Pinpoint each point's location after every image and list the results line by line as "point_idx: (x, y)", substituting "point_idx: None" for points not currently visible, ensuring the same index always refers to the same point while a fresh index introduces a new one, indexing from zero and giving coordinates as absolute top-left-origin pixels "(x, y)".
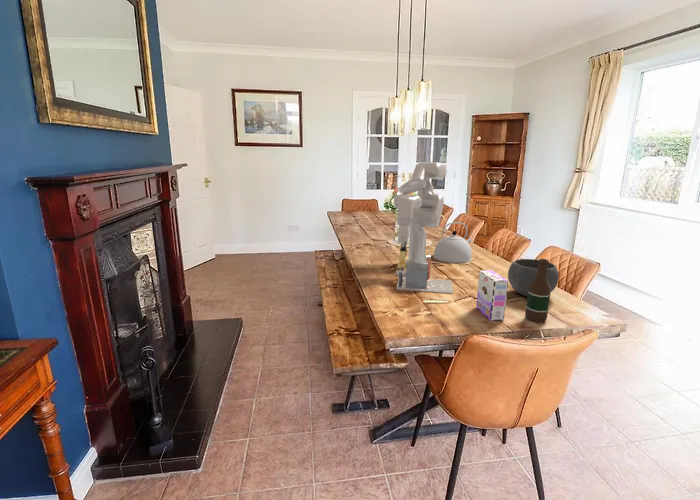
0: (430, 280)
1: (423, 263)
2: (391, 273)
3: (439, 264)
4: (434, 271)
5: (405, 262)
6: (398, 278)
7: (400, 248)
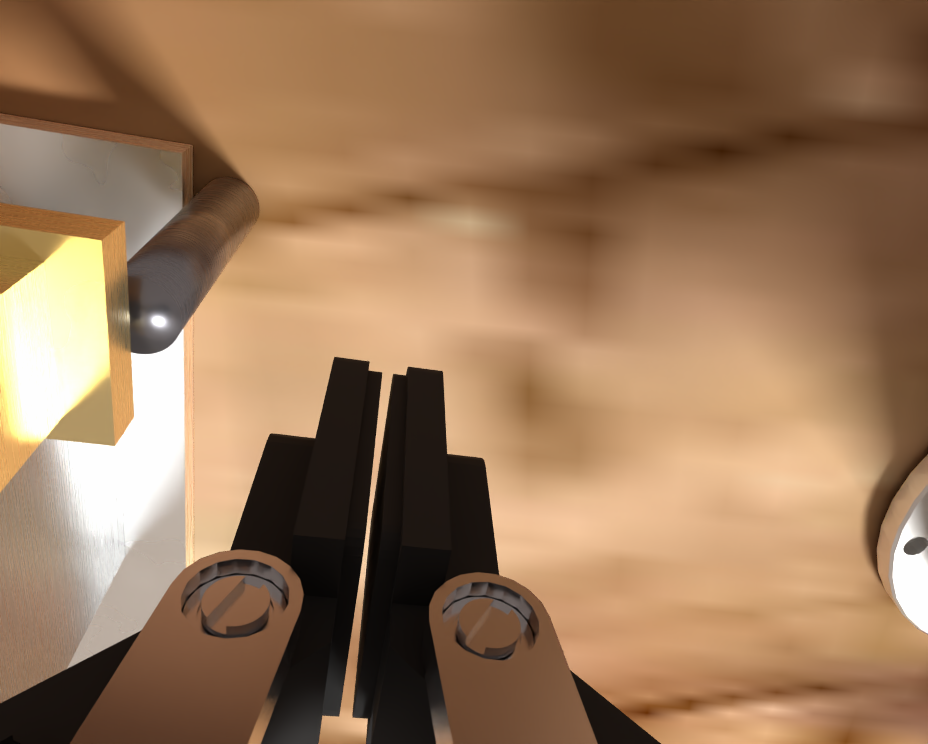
0: (120, 593)
1: (916, 600)
2: (527, 23)
3: (890, 730)
4: (609, 658)
5: (74, 420)
6: (79, 136)
7: (405, 544)
